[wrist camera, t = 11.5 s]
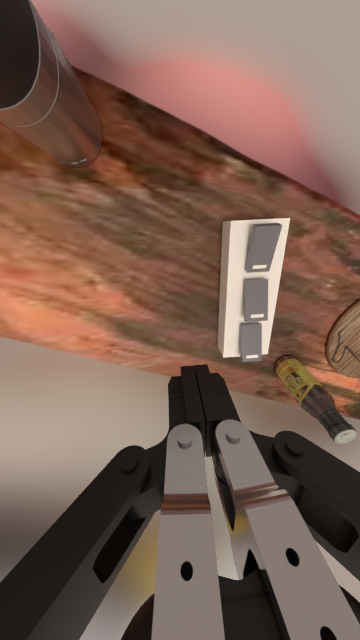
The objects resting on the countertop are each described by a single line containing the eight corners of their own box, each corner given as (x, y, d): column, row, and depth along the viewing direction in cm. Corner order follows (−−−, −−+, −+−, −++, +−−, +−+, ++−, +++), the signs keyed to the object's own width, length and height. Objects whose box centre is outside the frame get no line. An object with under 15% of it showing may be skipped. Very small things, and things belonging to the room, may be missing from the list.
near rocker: (252, 223, 32) (256, 226, 30) (277, 222, 32) (282, 225, 30) (243, 268, 36) (247, 272, 35) (265, 266, 37) (269, 271, 35)
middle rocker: (242, 280, 37) (246, 280, 36) (263, 279, 38) (268, 278, 36) (243, 320, 39) (246, 322, 37) (263, 318, 39) (267, 320, 37)
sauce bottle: (277, 353, 51) (339, 422, 33) (299, 354, 52) (372, 422, 33) (269, 373, 53) (323, 447, 35) (290, 375, 54) (354, 448, 36)
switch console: (222, 221, 37) (230, 220, 33) (276, 219, 38) (291, 217, 33) (217, 345, 48) (223, 357, 44) (259, 342, 49) (268, 353, 44)
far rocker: (238, 323, 41) (242, 325, 39) (257, 322, 41) (261, 323, 39) (239, 358, 42) (242, 362, 40) (257, 357, 43) (261, 360, 41)
